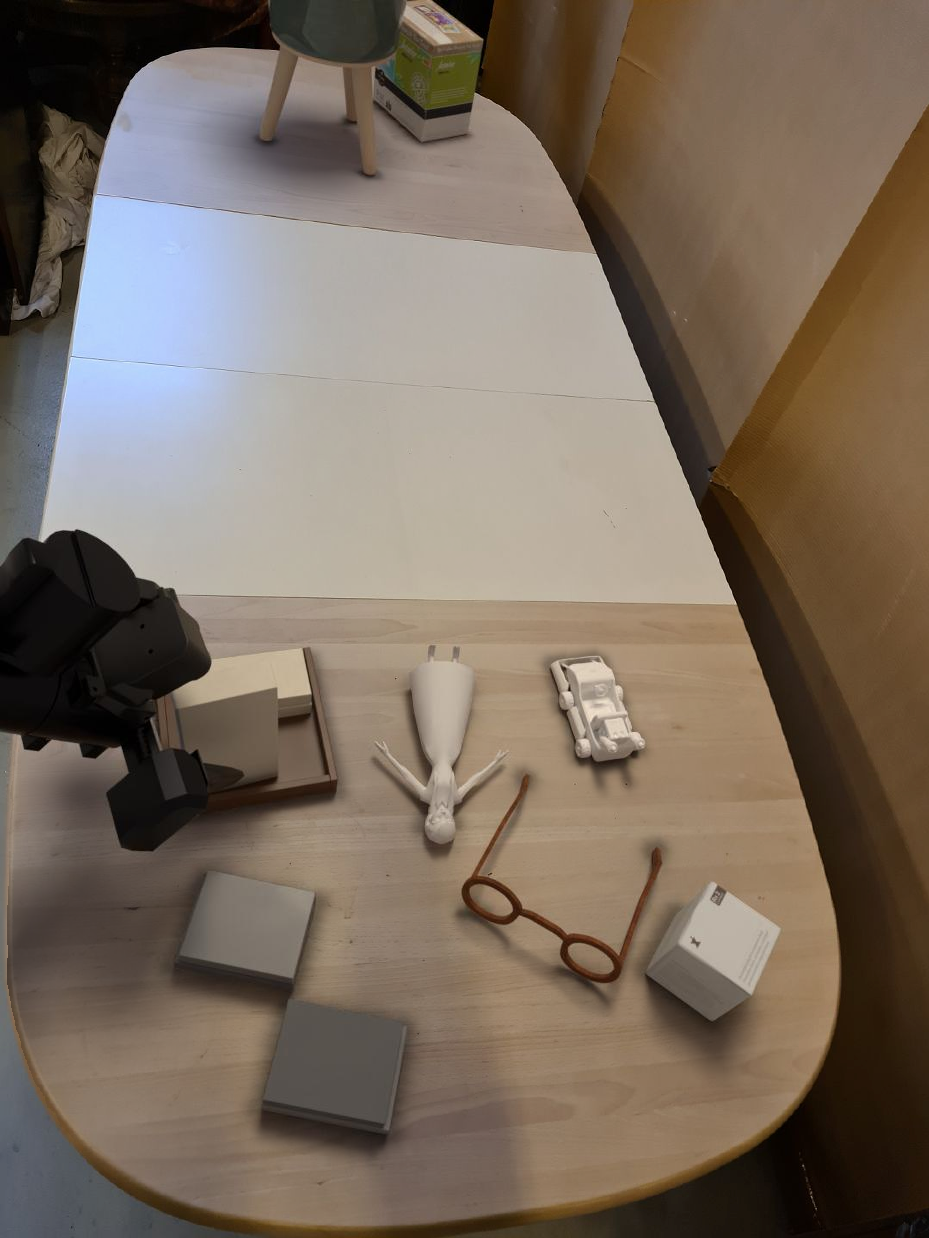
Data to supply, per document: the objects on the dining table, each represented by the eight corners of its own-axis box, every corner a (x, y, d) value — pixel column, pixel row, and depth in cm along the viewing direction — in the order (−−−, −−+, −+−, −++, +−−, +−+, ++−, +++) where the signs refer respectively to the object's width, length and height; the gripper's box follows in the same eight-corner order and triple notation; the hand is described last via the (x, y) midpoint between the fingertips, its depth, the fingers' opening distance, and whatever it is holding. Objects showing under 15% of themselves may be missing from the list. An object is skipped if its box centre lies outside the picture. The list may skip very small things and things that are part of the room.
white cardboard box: (711, 1023, 67) (753, 998, 61) (642, 973, 68) (676, 943, 62) (742, 957, 70) (784, 928, 64) (675, 911, 71) (711, 877, 66)
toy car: (602, 657, 86) (616, 631, 82) (645, 767, 79) (662, 744, 76) (544, 664, 84) (555, 638, 81) (582, 777, 77) (597, 753, 74)
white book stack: (209, 728, 73) (207, 710, 71) (203, 678, 76) (200, 659, 74) (311, 713, 76) (312, 695, 74) (301, 665, 79) (302, 646, 76)
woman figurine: (511, 642, 79) (518, 837, 69) (501, 667, 83) (506, 855, 73) (381, 631, 77) (370, 829, 68) (377, 657, 81) (365, 848, 71)
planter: (362, 106, 147) (380, -148, 121) (423, 172, 137) (458, -89, 111) (236, 115, 138) (227, -157, 112) (293, 187, 128) (297, -94, 102)
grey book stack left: (175, 968, 63) (171, 955, 60) (205, 880, 67) (202, 865, 64) (292, 992, 63) (293, 981, 61) (315, 904, 67) (317, 890, 65)
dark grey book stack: (261, 1109, 58) (260, 1102, 56) (288, 1006, 62) (288, 995, 60) (387, 1134, 59) (391, 1128, 56) (405, 1030, 63) (410, 1020, 60)
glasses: (454, 903, 69) (465, 880, 65) (524, 775, 77) (537, 748, 73) (605, 992, 67) (626, 974, 63) (661, 852, 74) (683, 827, 70)
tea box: (370, 101, 148) (378, 0, 137) (418, 94, 153) (430, -4, 141) (420, 144, 142) (434, 42, 131) (469, 135, 147) (486, 37, 135)
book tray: (169, 820, 69) (166, 809, 67) (156, 679, 76) (153, 666, 74) (336, 790, 73) (338, 779, 71) (309, 659, 80) (310, 646, 78)
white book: (190, 799, 69) (174, 709, 59) (184, 771, 71) (168, 679, 61) (278, 776, 72) (277, 687, 62) (271, 750, 73) (269, 658, 63)
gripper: (158, 741, 46) (343, 771, 59) (80, 493, 55) (255, 566, 68) (28, 853, 49) (230, 858, 62) (-26, 601, 58) (160, 651, 71)
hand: (220, 724), depth 66 cm, fingers open, 9 cm apart
